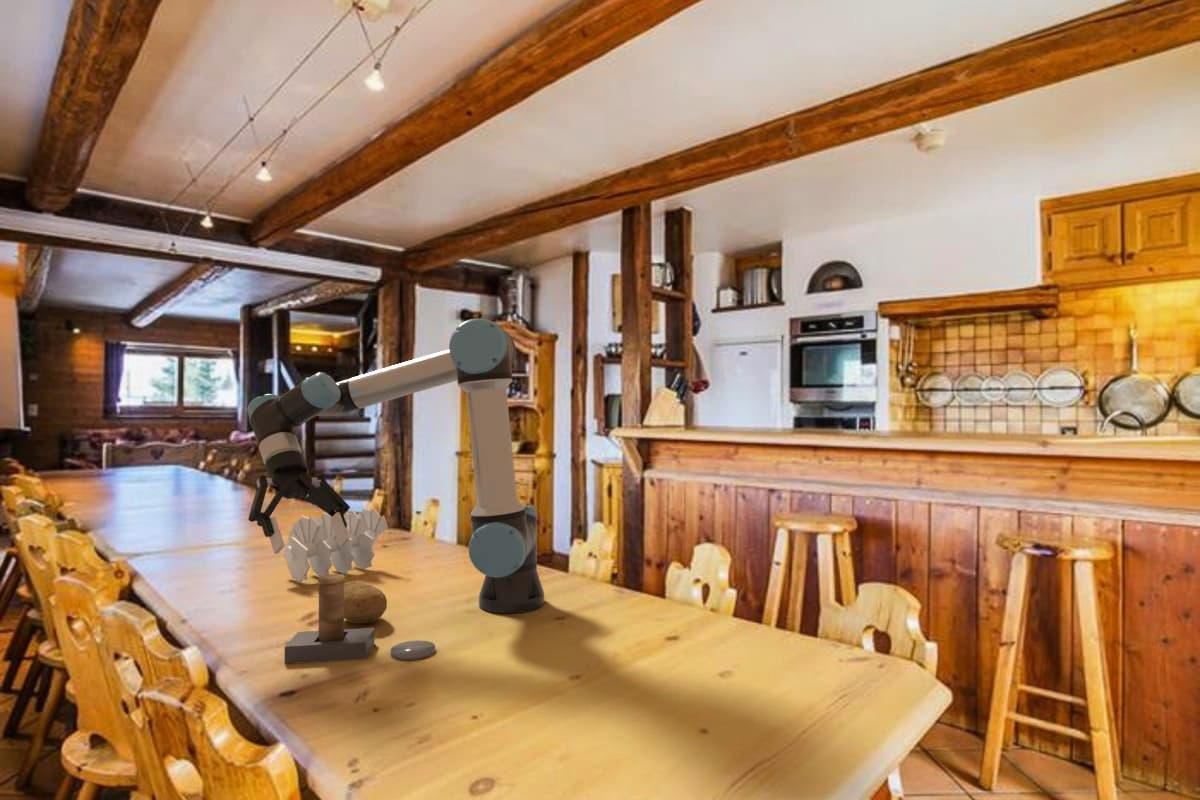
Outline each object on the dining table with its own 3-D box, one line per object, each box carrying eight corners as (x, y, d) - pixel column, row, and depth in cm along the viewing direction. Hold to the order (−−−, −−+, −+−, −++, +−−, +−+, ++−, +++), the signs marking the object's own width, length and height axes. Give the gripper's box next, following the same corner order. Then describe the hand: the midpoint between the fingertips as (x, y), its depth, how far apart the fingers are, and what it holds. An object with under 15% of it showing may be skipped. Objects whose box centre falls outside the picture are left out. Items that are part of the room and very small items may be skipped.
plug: (346, 648, 125) (347, 573, 125) (341, 657, 120) (341, 579, 120) (321, 649, 124) (321, 574, 124) (314, 658, 119) (315, 580, 120)
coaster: (436, 643, 127) (436, 639, 127) (432, 658, 119) (432, 654, 119) (394, 645, 126) (394, 641, 126) (387, 661, 118) (387, 657, 118)
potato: (355, 635, 132) (355, 595, 132) (325, 620, 142) (325, 583, 142) (399, 624, 139) (399, 586, 139) (367, 610, 149) (368, 574, 149)
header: (374, 643, 127) (374, 627, 127) (366, 658, 119) (366, 642, 119) (297, 647, 125) (297, 631, 125) (284, 663, 117) (284, 646, 117)
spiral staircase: (281, 597, 173) (367, 574, 193) (310, 578, 163) (397, 555, 183) (265, 531, 178) (350, 515, 198) (292, 509, 168) (379, 494, 187)
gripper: (329, 469, 150) (359, 549, 141) (213, 470, 129) (240, 564, 120) (345, 449, 147) (377, 530, 137) (229, 447, 126) (258, 541, 117)
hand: (313, 546), depth 129 cm, fingers open, 13 cm apart
